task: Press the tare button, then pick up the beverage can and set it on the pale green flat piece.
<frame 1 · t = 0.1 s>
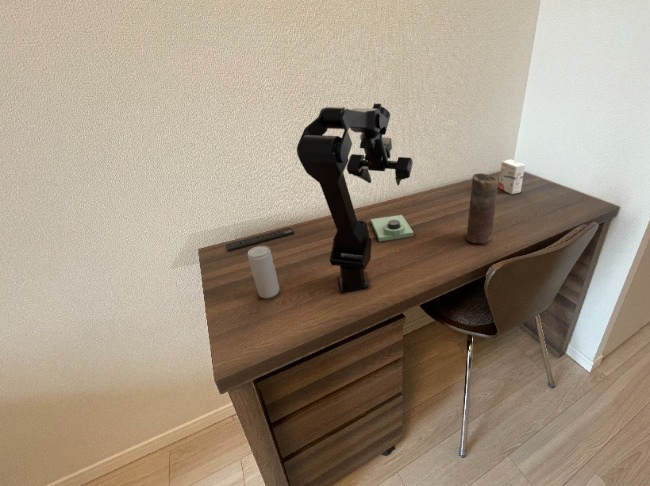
hand: (384, 183, 100), 15 cm above the table, tool tilted 30°, fingers open, 9 cm apart
candle: (478, 239, 98), on the table
ink box: (508, 190, 133), on the table
tare button: (394, 224, 100), point 3 cm above the table, slide at 0.1 cm
pale green flat piece: (391, 229, 104), on the table
beverage can: (269, 293, 77), on the table
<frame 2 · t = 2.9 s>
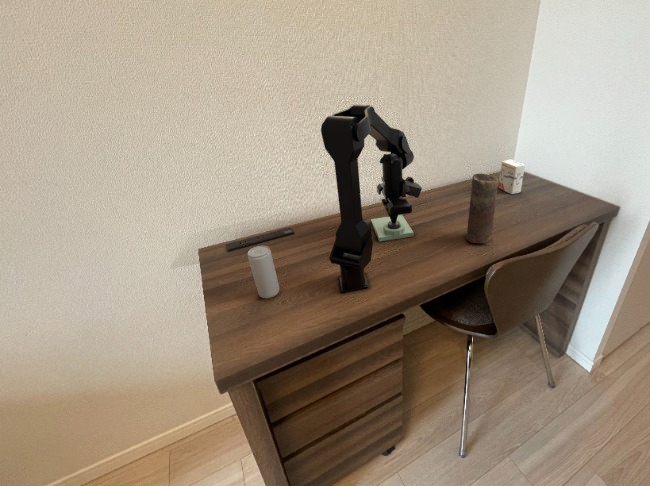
hand: (393, 222, 99), 4 cm above the table, tool pointing down, fingers closed, pressing on tare button
tare button: (394, 225, 100), point 3 cm above the table, slide at -0.1 cm, touching gripper
everything else where it was.
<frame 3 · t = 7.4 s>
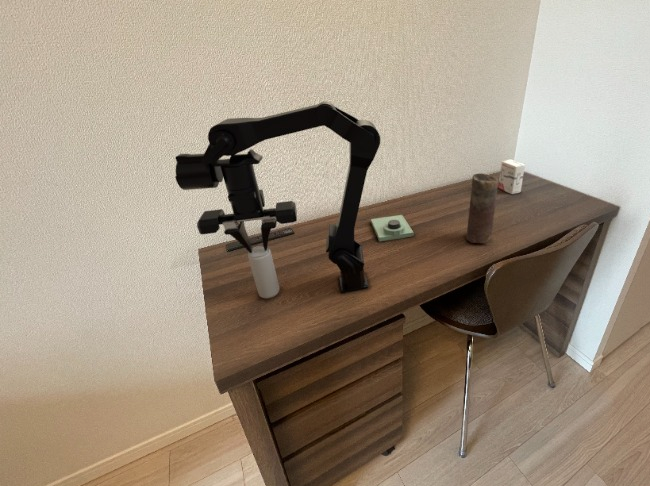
hand: (258, 250, 71), 12 cm above the table, tool pointing down, fingers closed on beverage can, 3 cm apart
tare button: (394, 224, 100), point 3 cm above the table, slide at 0.1 cm
beverage can: (269, 293, 77), on the table, touching gripper
everything else where it was.
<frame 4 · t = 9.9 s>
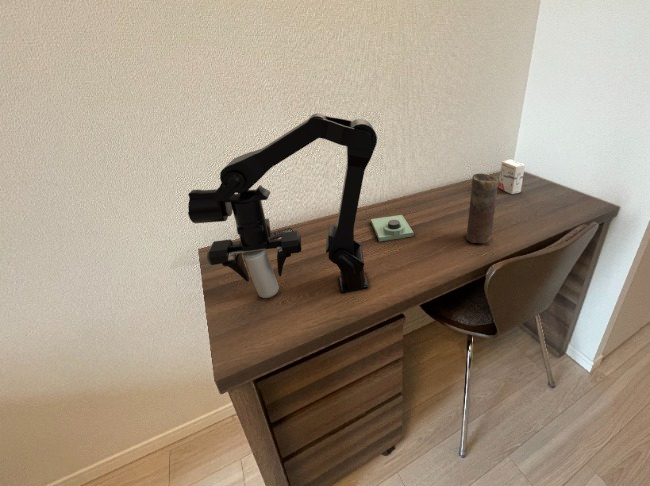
hand: (264, 277, 75), 5 cm above the table, tool pointing down, fingers closed on beverage can, 7 cm apart
beverage can: (269, 293, 77), on the table, touching gripper
everything else where it was.
when the fingers open (6 cm above the table, at t = 17.2 s): beverage can stays where it is, resting on pale green flat piece.
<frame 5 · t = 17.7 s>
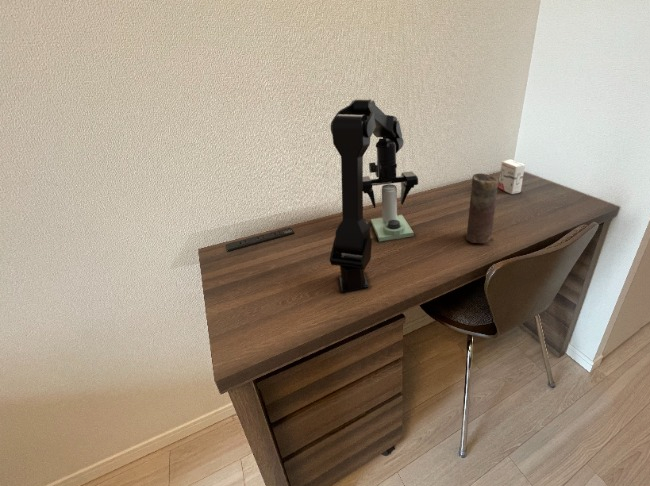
hand: (388, 205, 104), 7 cm above the table, tool pointing down, fingers open, 9 cm apart
beverage can: (389, 221, 107), point 1 cm above the table, touching pale green flat piece
everything else where it was.
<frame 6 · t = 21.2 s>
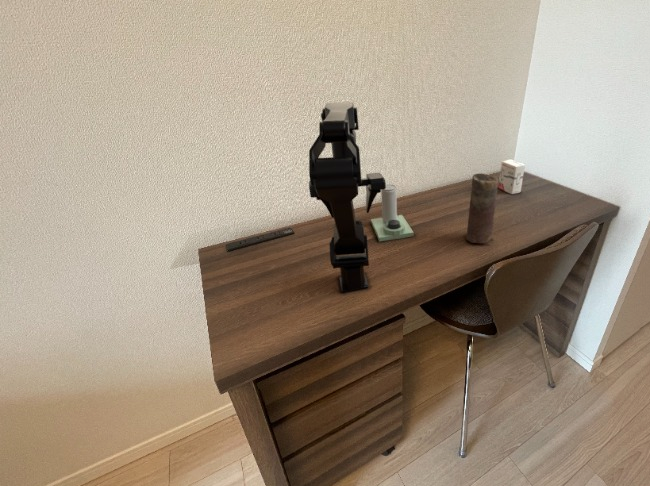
hand: (350, 214, 85), 13 cm above the table, tool pointing down, fingers open, 9 cm apart
nothing on the table moved.
at the end: tare button pushed in 0.9 cm at the most during the clip, back to where it started at the end; beverage can inside the target area on the pale green flat piece (1.2 cm from its centre), point 1.2 cm above the pale green flat piece's base; beverage can touching pale green flat piece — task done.
